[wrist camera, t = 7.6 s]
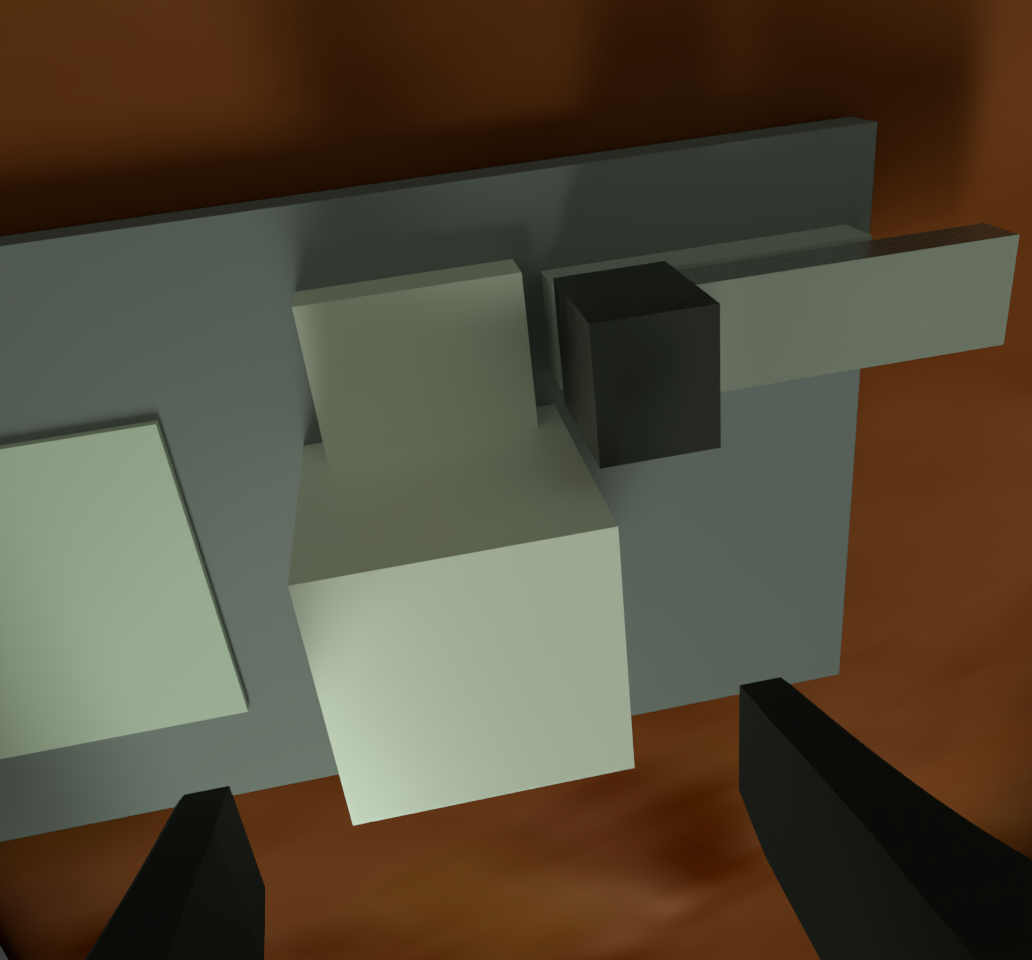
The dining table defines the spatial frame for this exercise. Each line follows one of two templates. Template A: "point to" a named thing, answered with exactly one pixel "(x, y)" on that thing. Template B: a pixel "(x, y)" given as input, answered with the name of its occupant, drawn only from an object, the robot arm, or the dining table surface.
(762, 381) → the bolt
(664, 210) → the housing plate
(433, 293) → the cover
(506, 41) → the dining table surface
